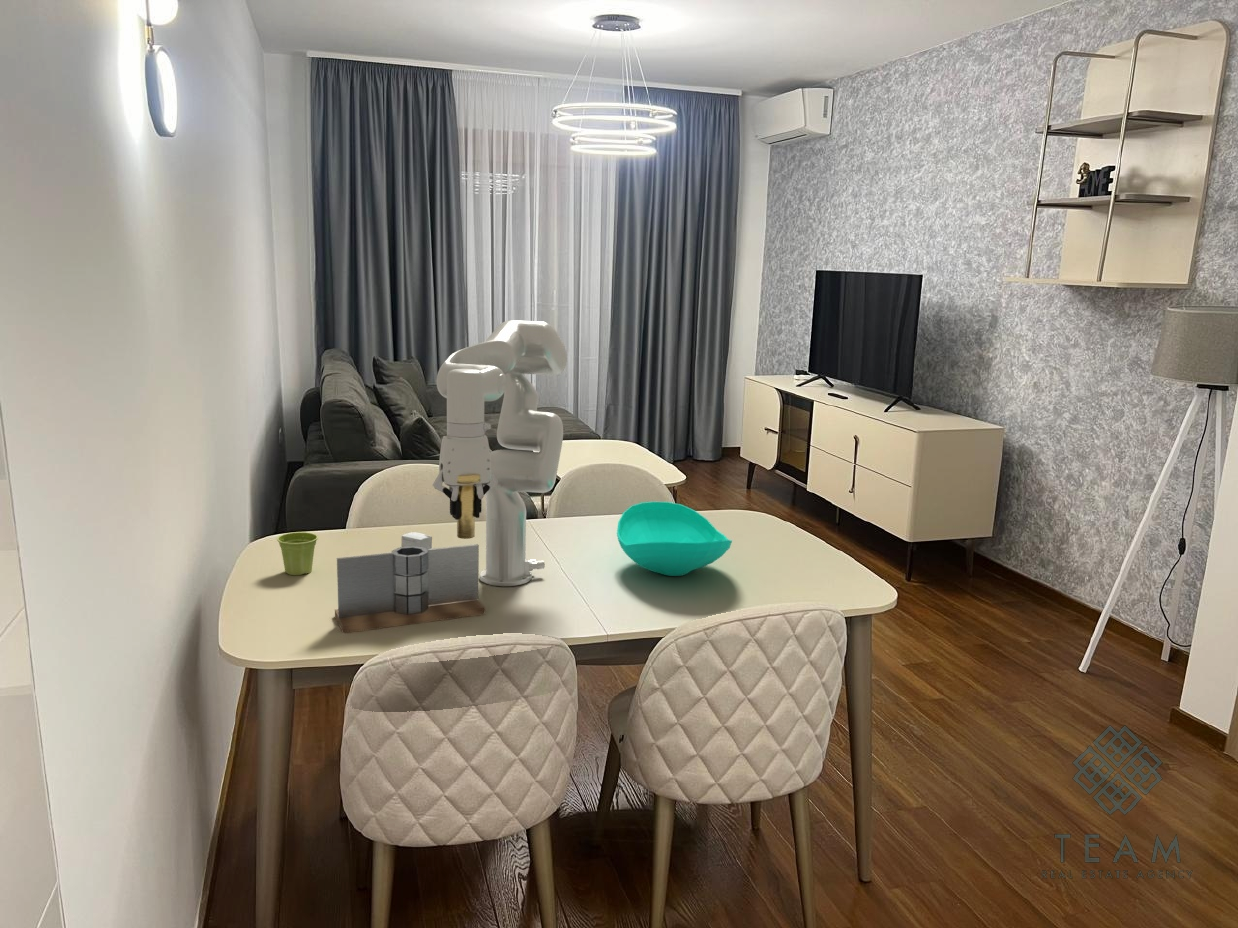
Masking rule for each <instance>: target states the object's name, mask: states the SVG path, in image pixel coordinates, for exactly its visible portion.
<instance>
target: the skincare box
mask: <svg viewBox="0 0 1238 928" xmlns="http://www.w3.org/2000/svg"><path fill="white" fill-rule="evenodd" d="M432 543H433V536H432V535H429V534H425V533H421V532H415V531H411V532H408V533H405V534H403V535H401V547H409V546H412V547H413V546H415V547H422V548H426V550H427V551H428V549H433V547H432Z"/></svg>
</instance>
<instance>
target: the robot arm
mask: <svg viewBox="0 0 1238 928" xmlns="http://www.w3.org/2000/svg"><path fill="white" fill-rule="evenodd" d="M567 360H568V354H567V349H566V346H565V344H564V342H563V340H562V339H561V337H560V335H559V334H558V332H557V330H556V329H555V328H554V327H553V326H552V325H551V324H550V323H548V322H545V321H541V320H540V321H539V320H538V321H537V320H536V321H535V320H520V319H519V320H518V319H517V320H516V319H515V320H514V319H511V320H506V321H503V322H502V323H500V324H499V325H498V326H496V328H495V329H494V330H493V331H492V333H491V334H490V335H489V336H488V337H487V339H486V340H485V341H483V342H478V343H477V344H473V345H471V346H467V347H465V348H462V349H458V350H456V351H455V352H453V353H451V354H450V355H449V356H448V357H447V358H446V359H445V361H444V362H443V363H442V365H441V366H440V367H439V369H438V371H437V376H436V388H437V391H438V393H439V394H440V395H441V396H442V397H443V398H445V399H446V435H443V436H442V439H441V446H440V451H439V452H440V453H439V461H438V463H439V465H438V474H437V476H436V478H435V479H434V481H433V483H432V487H433V488H434V489H435V490H437V491H439V492H440V493H443V494H444V495H445V496H446V497H447V498H449V514H450V516H452V518H453V519H454V520H456V521H457V520H459V519H460V502H459V501H458V497H457V496H458V489H459V486H464V485H475V519H479V518H480V514H481V513H482V500H483V498H484V497H485V503H486V504H485V507H486V508H485V509H486V510H485V514H486V516H485V517H486V518H485V521H486V522H485V523H486V524H485V531H486V532H485V534H486V535H485V546H486V547H485V569H482V571H480V573H479V581H481V582H482V583H484V584H487V585H490V586H496V587H513V586H515V587H516V586H522V585H524V584H527V583H528V582H530V581H531V580H532V579H533V577H532V576H533V573H532V571H533V570H541V569H542V570H543V569H545V567H546V566H545V561H544V560H538V561H537V560H536V559H530V560H529V559H527V558H526V550H527V549H526V547H527V546H526V545H527V544H526V543H527V542H526V541H527V537H526V536H527V508H526V503H525V502H524V499H523V498H522V497H521V495H520V493H519V492H524V493H538V494H539V493H540V494H541V493H542V494H543V493H544V494H545V493H548V492H550V491H551V490H552V489H553V488H554V486H555V483H556V479H557V475H558V470H559V462H560V457H561V452H562V446H563V439H564V425H563V421H562V418H561V417H560V416H559V415H558V414H556V413H554V412H548V411H538V405H539V401H540V398H539V393H538V391H537V389H536V388H535V386H534V385H533V384H532V382H531V381H530V380H529V379H528V378H527V376H526V375H536V376H537V375H540V376H557V375H558V376H559V375H560V374H561V373H562V374H563V372H564V370H565V369H566V366H567V362H568V361H567ZM502 397H503V400H502V404H501V410H500V414H499V418H498V419H499V420H498V425H497V430H496V439H497V442H498V444H499V445H500V446H502V447H504V448H506V449H496V450H492V451H491V450H490V445H489V439H488V435H486V431H491V429H492V424H491V423H489V422H488V423H487V422H486V421H485V402H496V401H497V400H499V399H501V398H502ZM467 475H480V482H478V483H471V484H460V483H457V480H458V476H467ZM443 483H444V484H445V485H443Z"/></svg>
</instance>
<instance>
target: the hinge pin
mask: <svg viewBox="0 0 1238 928" xmlns="http://www.w3.org/2000/svg"><path fill="white" fill-rule="evenodd" d="M478 482H480V475H467V476H458V480H457V483H460V484H471V483H478ZM457 497H458V501H459V502H460V519H459V520H456V537H457V538H458V539H463V540H468V539H473V538H476V537H475V536H476V535H475V530H476V529H475V527H476V526H475V524H476V523H475V521H476V520H475V519H476V517H475V485H464V486H459V489H458V496H457Z"/></svg>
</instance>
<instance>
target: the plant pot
mask: <svg viewBox="0 0 1238 928" xmlns="http://www.w3.org/2000/svg"><path fill="white" fill-rule="evenodd" d="M318 540H319V536H318V535H317V534H316V533H313V532H307V531H296V532H288V533H284V534H281V535H279V536H277V538H276V541H277V542H278V544H279V547H280V549H281V556H282V560H283V567H284V572H285V573H286V574H288V575H289V576H302V575H303V574H306V575H308V574H310V573H311V572H312V570H313V564H314V563H313V562H314V556H315V547H316V544H317V541H318ZM307 573H308V574H307Z"/></svg>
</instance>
